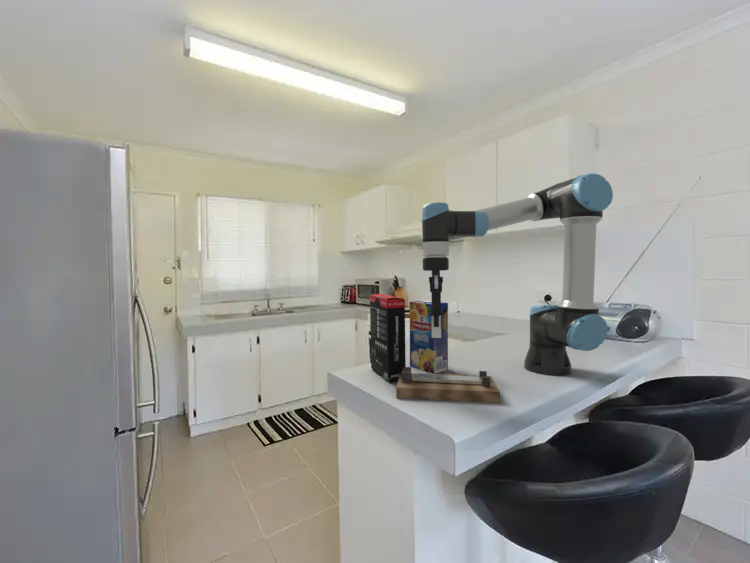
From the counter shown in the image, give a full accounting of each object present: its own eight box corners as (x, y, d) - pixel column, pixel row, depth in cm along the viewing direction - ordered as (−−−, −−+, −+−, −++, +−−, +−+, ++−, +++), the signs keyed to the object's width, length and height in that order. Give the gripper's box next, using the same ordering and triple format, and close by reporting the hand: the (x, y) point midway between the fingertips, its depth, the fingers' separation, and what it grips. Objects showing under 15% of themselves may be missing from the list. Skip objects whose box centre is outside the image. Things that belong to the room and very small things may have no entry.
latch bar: (485, 380, 104) (485, 376, 104) (487, 385, 101) (487, 381, 100) (412, 376, 108) (412, 373, 108) (411, 381, 104) (411, 377, 104)
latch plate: (490, 385, 109) (490, 366, 109) (500, 402, 95) (500, 380, 95) (400, 381, 113) (400, 363, 113) (396, 397, 99) (396, 376, 99)
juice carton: (448, 369, 126) (448, 302, 125) (433, 373, 122) (433, 304, 121) (423, 362, 136) (423, 300, 135) (409, 366, 131) (409, 301, 130)
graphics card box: (407, 381, 114) (407, 296, 113) (387, 383, 112) (387, 297, 111) (386, 367, 130) (386, 293, 129) (369, 369, 128) (368, 294, 127)
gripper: (422, 257, 110) (423, 333, 111) (422, 256, 97) (423, 341, 98) (447, 257, 109) (448, 333, 110) (450, 256, 96) (450, 342, 97)
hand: (436, 337), depth 104 cm, fingers closed
